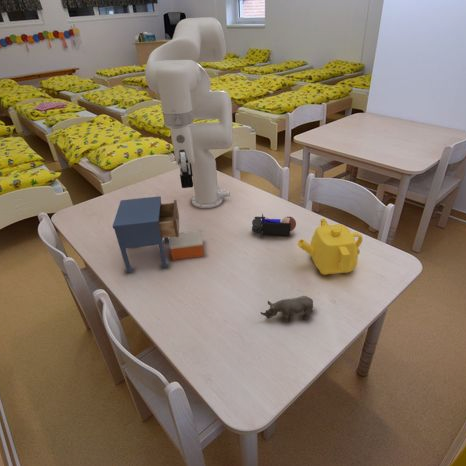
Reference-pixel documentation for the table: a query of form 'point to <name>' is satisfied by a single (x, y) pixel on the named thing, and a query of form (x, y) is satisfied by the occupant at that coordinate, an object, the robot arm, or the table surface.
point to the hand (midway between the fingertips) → (187, 181)
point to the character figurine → (273, 226)
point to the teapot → (333, 248)
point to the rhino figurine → (290, 307)
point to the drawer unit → (139, 226)
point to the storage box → (187, 245)
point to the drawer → (169, 220)
